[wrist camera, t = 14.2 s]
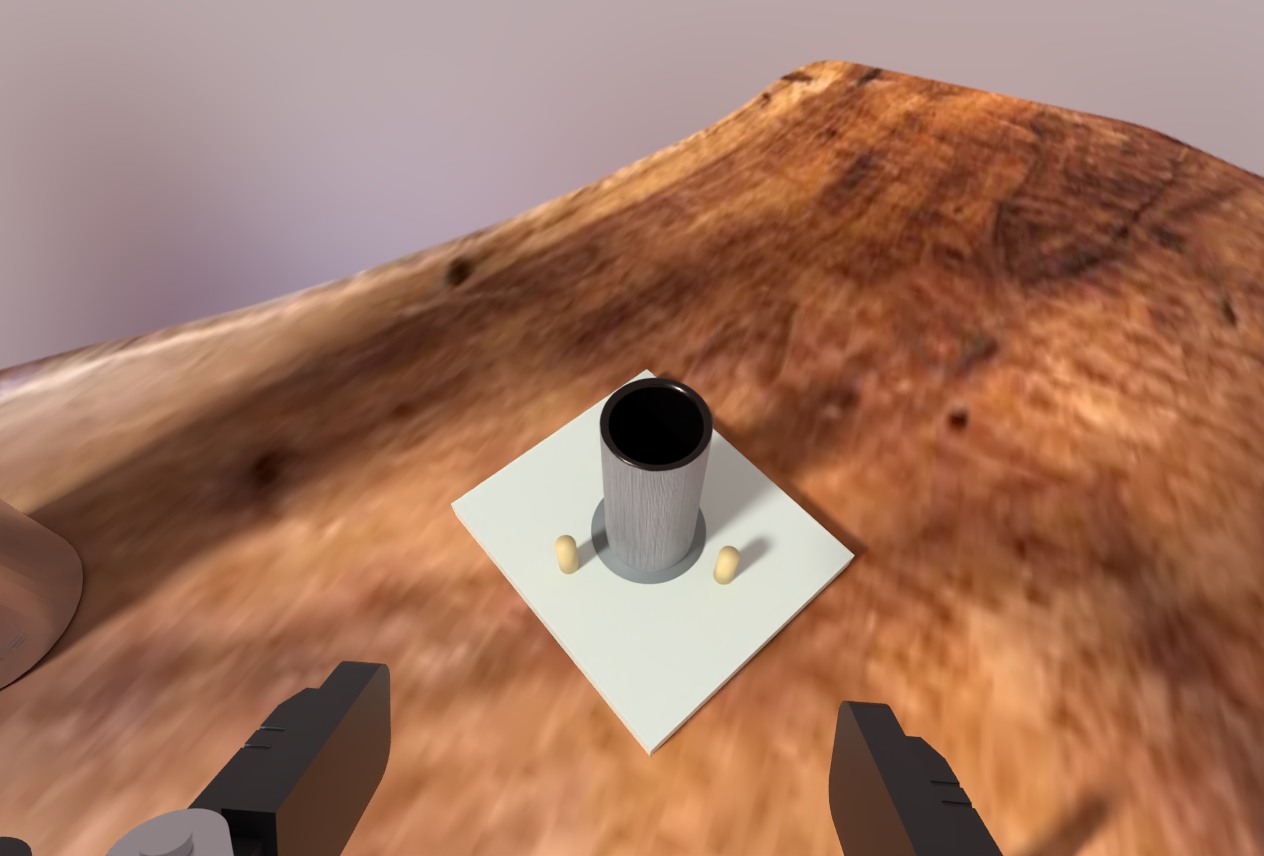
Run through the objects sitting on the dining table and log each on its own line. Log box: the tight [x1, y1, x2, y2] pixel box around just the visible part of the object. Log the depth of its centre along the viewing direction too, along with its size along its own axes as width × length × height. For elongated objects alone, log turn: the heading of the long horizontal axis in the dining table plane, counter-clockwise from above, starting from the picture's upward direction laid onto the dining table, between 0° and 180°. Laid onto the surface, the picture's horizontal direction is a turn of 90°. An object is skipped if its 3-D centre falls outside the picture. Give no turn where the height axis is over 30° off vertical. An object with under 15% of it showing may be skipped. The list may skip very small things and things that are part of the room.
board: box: [451, 369, 855, 756], centre depth 36 cm, size 16×14×4 cm
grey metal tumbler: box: [599, 378, 713, 572], centre depth 32 cm, size 4×4×10 cm
